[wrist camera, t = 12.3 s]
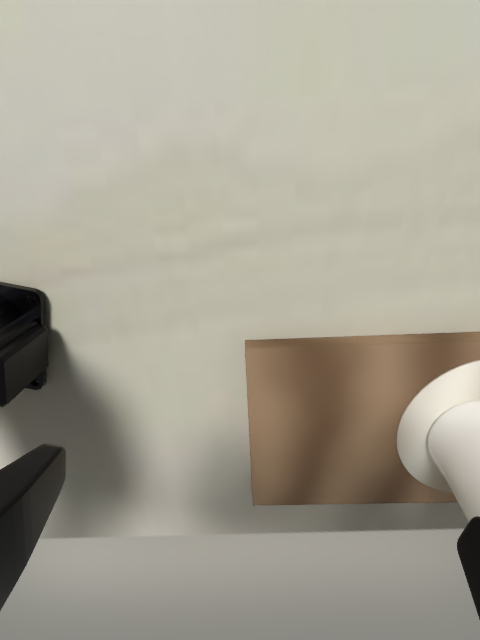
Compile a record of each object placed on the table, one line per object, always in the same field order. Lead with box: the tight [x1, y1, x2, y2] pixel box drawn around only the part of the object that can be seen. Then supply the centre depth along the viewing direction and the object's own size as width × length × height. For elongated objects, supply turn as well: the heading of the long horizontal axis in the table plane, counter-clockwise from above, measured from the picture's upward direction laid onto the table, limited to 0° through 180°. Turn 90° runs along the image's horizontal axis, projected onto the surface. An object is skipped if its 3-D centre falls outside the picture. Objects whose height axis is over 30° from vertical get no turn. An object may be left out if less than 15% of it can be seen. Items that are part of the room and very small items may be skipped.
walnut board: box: [245, 332, 480, 505], centre depth 22 cm, size 20×12×1 cm, turn 93°
